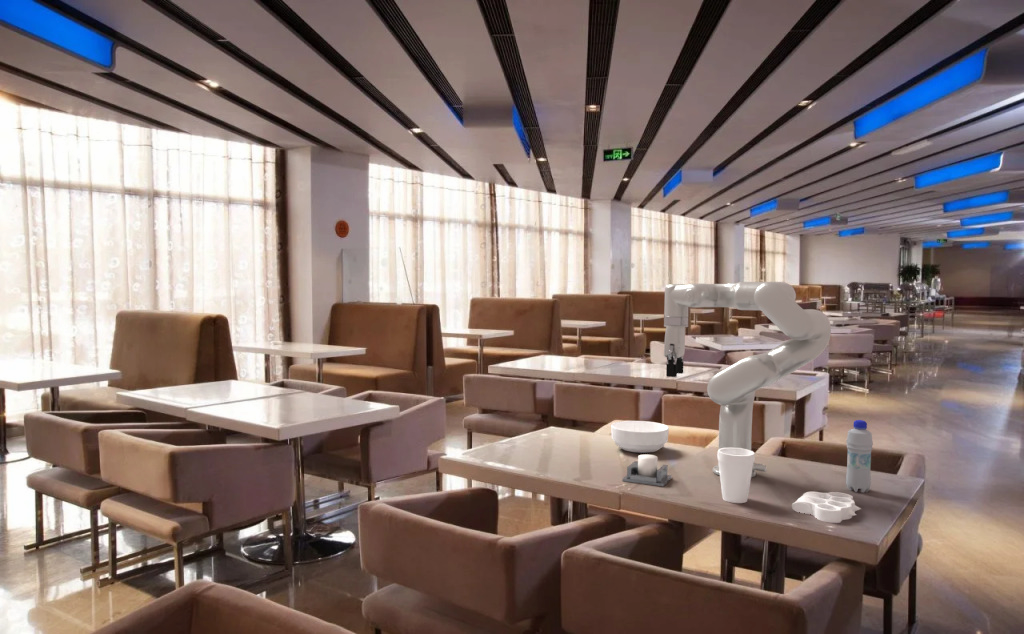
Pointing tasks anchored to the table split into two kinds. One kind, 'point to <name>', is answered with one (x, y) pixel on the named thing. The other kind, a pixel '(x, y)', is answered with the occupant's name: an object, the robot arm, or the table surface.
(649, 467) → the paper roll
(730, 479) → the foam cup
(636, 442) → the bowl
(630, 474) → the roll cradle
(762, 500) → the table surface
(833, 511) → the white compartment tray
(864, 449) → the bottle
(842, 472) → the table surface
